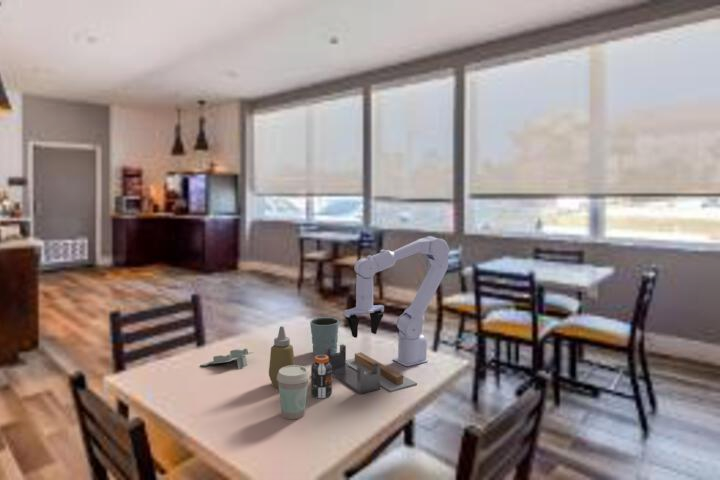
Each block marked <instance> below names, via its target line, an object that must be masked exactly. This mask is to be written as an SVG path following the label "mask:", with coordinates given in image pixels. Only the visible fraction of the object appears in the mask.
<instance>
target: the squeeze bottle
mask: <svg viewBox="0 0 720 480" xmlns="http://www.w3.org/2000/svg"><path fill="white" fill-rule="evenodd" d="M273 339H274V340H273V345H271V348H270V357H269V366H268V367H269V368H268V376H269V379H270V383H271V385H272V387H273V388H275V389H279V386H278V380H277V374H278V372H279V370H280V369H281V368H283V367H285V366H290V365H296V364H295V362H296V361H295V354H294V347H293V345H292V344H291V340H290V337H288V336H286V331H285V327H284V326H283V325H282V326H279V329H278V335H277V336H276V337H274V338H273Z"/></svg>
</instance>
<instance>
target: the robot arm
mask: <svg viewBox="0 0 720 480" xmlns="http://www.w3.org/2000/svg"><path fill="white" fill-rule="evenodd" d="M450 251H451V250H450V247H449V244H448V242H447V241H446V240H445V239H443V238H438V237H434V236H432V235H428V236H426V237H422V238H418V239H417V240H414V241H413V242H410V243H408V244H405V245H404V246H401V247H399V248H396V249H394V250H393V251H391V250H389V249H386V250H385V249H380V251H379V253H375V254H373V255H367V256H366V257H367V258H360V259H358V260H357V262H355V265H354V267H353V268H354V272H355V273H356V282H355V284H356V285H355V286H356V287H355V301H356V302H355V307H352V308H350V309H344V312H343V313H344V317H345V319H346V322H347V323H348V325H349V327H350V328H349V329H350V331H351V337H353V338H358V335H359V333H358V328H359V322H360V318H359V317H358V316H361V315H366V314H369V318H370V331H371V333H372V334H374V335H377V333H378V328H379V325H380V323H381V320H382V319H383V317H384V312H385V305H383V304H377V305H374V276H375V275H376V273H379V272H381V271H384V270H386V269H389V268H391V267H394V266H395V264H396V262H397V261H399V260H401V259H404V258H407V257H408V258H409V256H413V255H415V254H423V255H425V256H426V257H427V259H428V262H429V264H430V268H429V269H428V272H427V274H426V275H425V277H424V279H423V281H422V283H421V285H420V287H419V288H418V290H417V292H416V294H415V296H414V298H413V300H412V302H411V304H410V306H408V307H406V308H405V310H404V311H403V312H402V314H400V315H399V316H398V318H397V319H396V327H397V329H398V330H399V333H398V338H397V339H398V342H397V344H398V345H397V346H398V347H397V349H398V350H397V357H393V358H392V361H394V362H397V363H399V364H400V365H402V366H405V367H411V366H414V365H419V364H424V363H428V361H429V360H428V359H427V343H428V342H427V340H426V337H425V335H423V334H422V333H423V326H424V323H425V314H426V312H427V309H428V307H429V305H430V303H431V301H432V299H433V298H434V296H435V294H436V291H437V290H438V288H439V286H440V285H441V282H442V280H443V279H444V276H445V274H446V272H447V270H448V268H449V254H450Z"/></svg>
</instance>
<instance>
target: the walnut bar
mask: <svg viewBox="0 0 720 480" xmlns="http://www.w3.org/2000/svg"><path fill="white" fill-rule="evenodd" d="M354 358H355V361H356V362H358V363H360V364H361V365H363V366H365V367H366V368H368V369H370V370H372V371H374V364H375V363H378V364H380V376H382V377H383V378H385V379H387V380H389V381H390V382H392V383H394V384H395V385H399V384H403V376H404V375H403V374H402V373H400V372H398V371H396V370H394V369H392V368H391V367H389V366H387V365H386V364H383V363H381V362H379V361H377V360H376V359H374V358H372V357H370V356H368V355H366V354H365V353H363V352H361V351H360V352H355V353H354Z"/></svg>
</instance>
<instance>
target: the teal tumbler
mask: <svg viewBox="0 0 720 480" xmlns="http://www.w3.org/2000/svg"><path fill="white" fill-rule="evenodd" d="M309 323H310V333H311V343H312V353H313V355H314V357H315V356H317V355H325V348H327V347H328V348H330V349H331V354H334V353H338V342H339V341H338V339H339V338H338V337H339V336H338V334H339V324H340V321H339V319H337V318H334V317H330V316H329V317H327V316H326V317H325V316H324V317H316V318H313V319H312V320H310V322H309Z"/></svg>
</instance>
